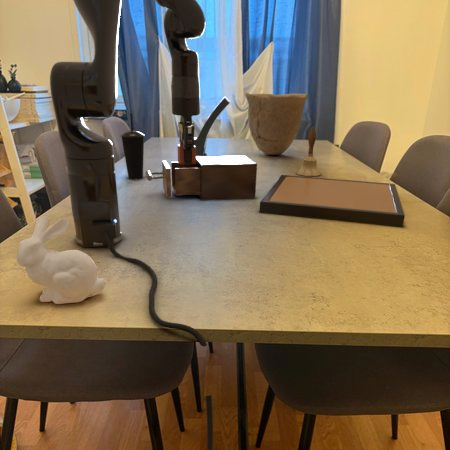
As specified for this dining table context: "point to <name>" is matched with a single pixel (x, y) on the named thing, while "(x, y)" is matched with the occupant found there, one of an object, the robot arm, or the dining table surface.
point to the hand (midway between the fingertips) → (186, 161)
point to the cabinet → (227, 177)
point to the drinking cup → (133, 152)
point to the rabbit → (58, 266)
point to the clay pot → (274, 120)
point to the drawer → (179, 178)
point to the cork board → (334, 200)
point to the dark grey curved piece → (208, 128)
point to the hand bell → (310, 158)
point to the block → (181, 155)
